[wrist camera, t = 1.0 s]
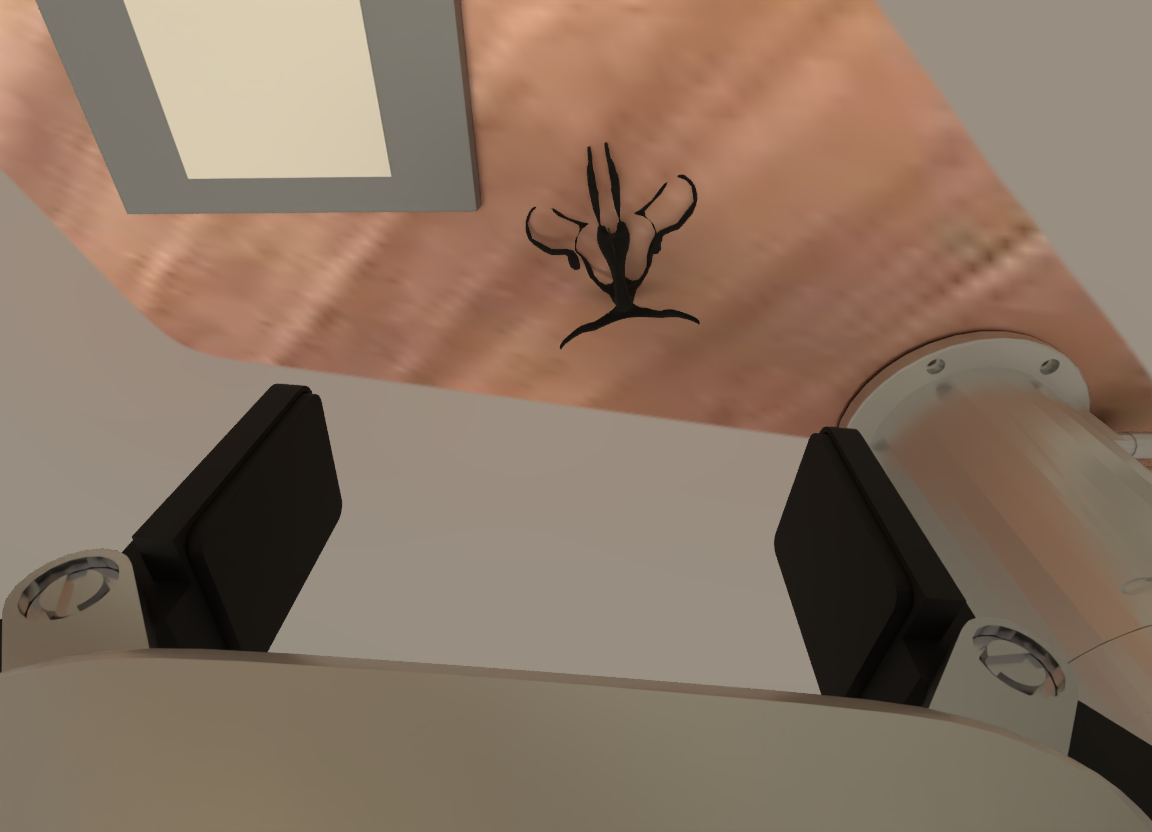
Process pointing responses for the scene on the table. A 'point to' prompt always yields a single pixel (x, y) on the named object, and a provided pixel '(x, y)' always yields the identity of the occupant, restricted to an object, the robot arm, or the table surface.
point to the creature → (617, 254)
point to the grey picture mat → (274, 103)
